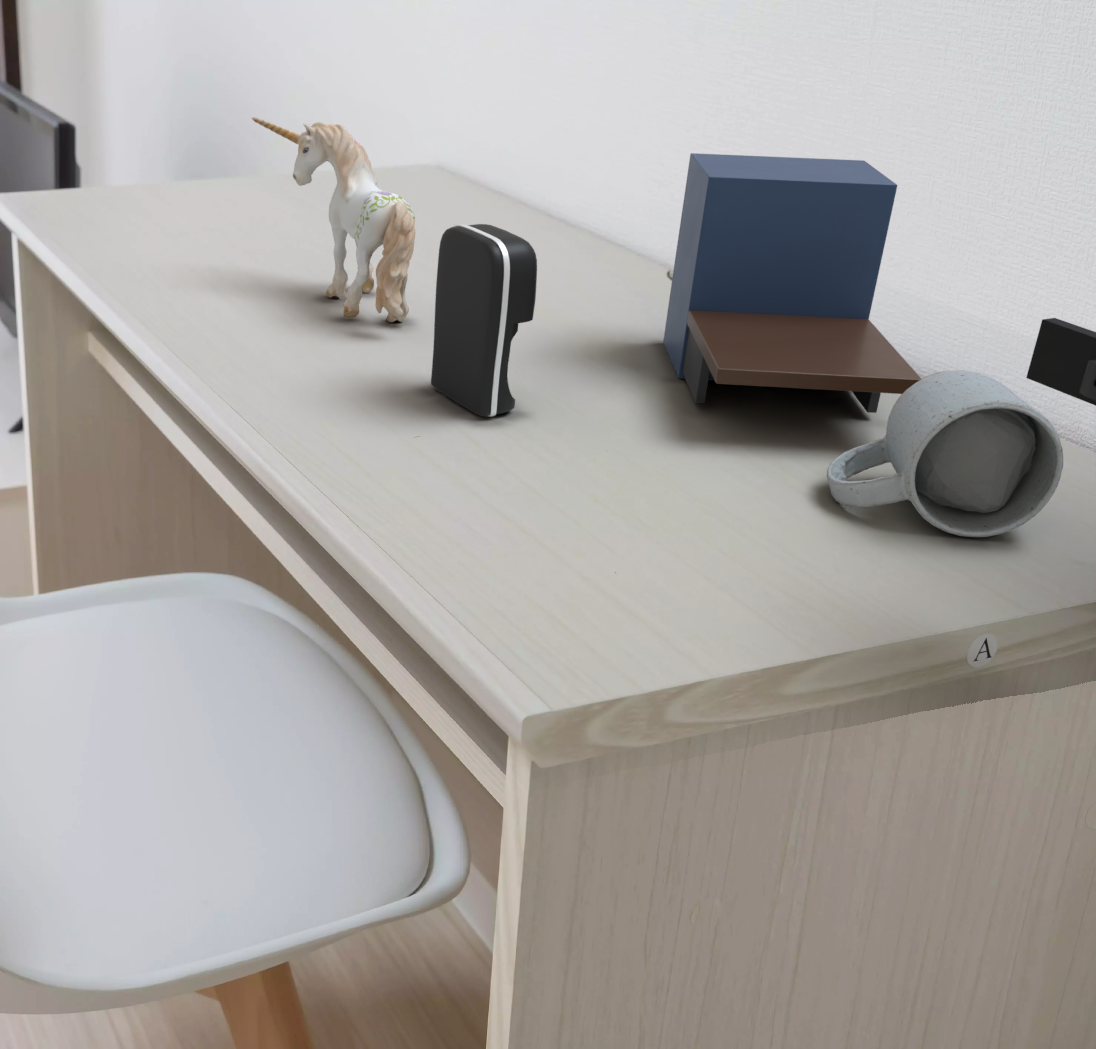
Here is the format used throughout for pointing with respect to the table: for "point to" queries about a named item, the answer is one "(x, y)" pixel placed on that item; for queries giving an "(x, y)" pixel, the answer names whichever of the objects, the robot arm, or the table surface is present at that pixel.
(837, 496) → the ceramic mug
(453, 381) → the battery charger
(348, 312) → the unicorn figurine
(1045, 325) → the robot arm
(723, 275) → the blue chair shape
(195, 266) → the table surface
